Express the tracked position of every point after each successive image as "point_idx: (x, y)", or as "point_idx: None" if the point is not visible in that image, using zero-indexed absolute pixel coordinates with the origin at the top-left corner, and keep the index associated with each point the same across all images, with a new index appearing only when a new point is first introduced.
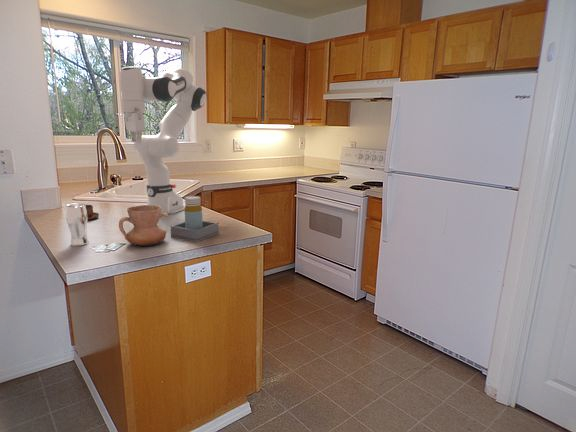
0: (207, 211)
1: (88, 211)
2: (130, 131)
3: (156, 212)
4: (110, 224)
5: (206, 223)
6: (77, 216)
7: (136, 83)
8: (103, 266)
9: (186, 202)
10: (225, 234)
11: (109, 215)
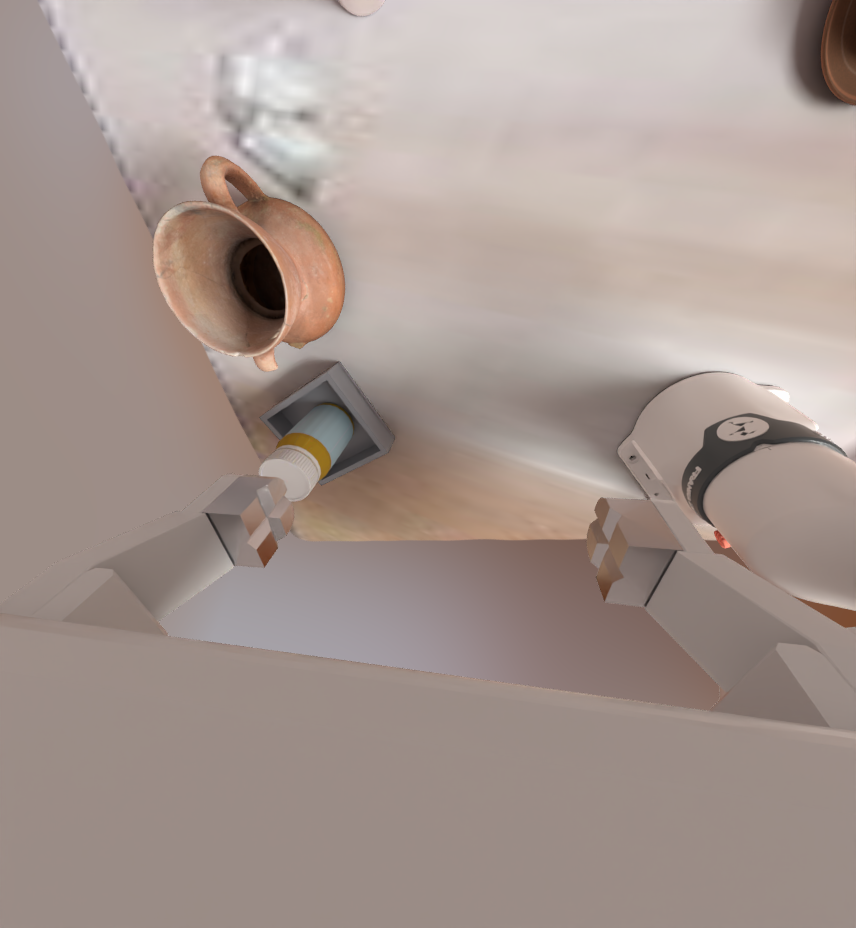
0: (569, 533)
1: None
2: (829, 722)
3: (191, 324)
4: (628, 169)
5: (344, 466)
6: None
7: None
8: (80, 78)
9: (277, 451)
10: None
11: (837, 187)
